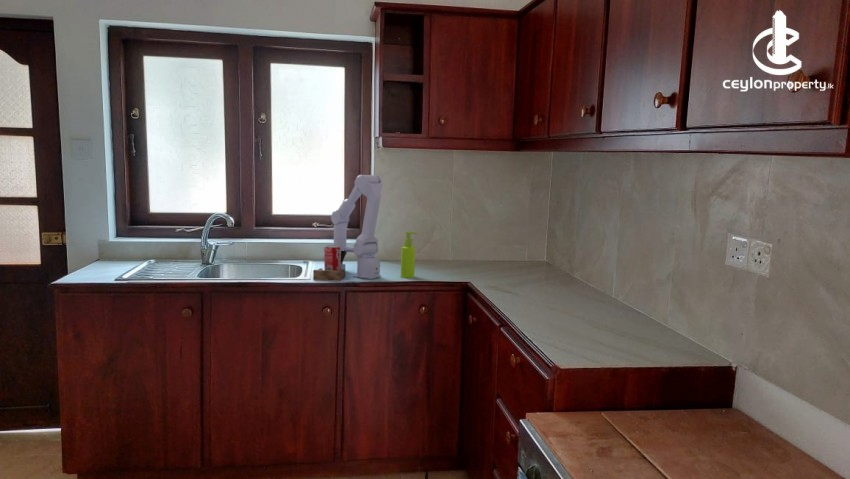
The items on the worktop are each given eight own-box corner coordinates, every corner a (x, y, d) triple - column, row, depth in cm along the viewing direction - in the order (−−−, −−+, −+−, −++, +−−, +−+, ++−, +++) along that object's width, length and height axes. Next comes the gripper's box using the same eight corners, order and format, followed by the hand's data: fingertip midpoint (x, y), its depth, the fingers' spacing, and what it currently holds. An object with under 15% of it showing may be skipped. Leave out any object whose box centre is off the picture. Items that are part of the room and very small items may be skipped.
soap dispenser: (416, 278, 255) (417, 232, 252) (400, 278, 255) (401, 232, 252) (416, 275, 261) (417, 231, 258) (401, 275, 261) (402, 230, 258)
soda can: (339, 277, 253) (339, 247, 251) (322, 276, 253) (322, 246, 251) (342, 274, 260) (342, 245, 258) (326, 273, 260) (326, 244, 258)
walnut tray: (345, 276, 255) (345, 267, 254) (339, 280, 245) (340, 271, 245) (319, 275, 256) (319, 266, 256) (313, 279, 247) (313, 270, 246)
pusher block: (332, 270, 267) (332, 263, 266) (345, 271, 266) (345, 264, 266) (328, 273, 260) (328, 266, 260) (341, 274, 259) (341, 267, 259)
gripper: (357, 237, 269) (357, 266, 271) (326, 235, 271) (326, 265, 273) (354, 239, 262) (353, 269, 264) (322, 237, 264) (322, 267, 266)
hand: (339, 267), depth 268 cm, fingers closed, pressing on pusher block
